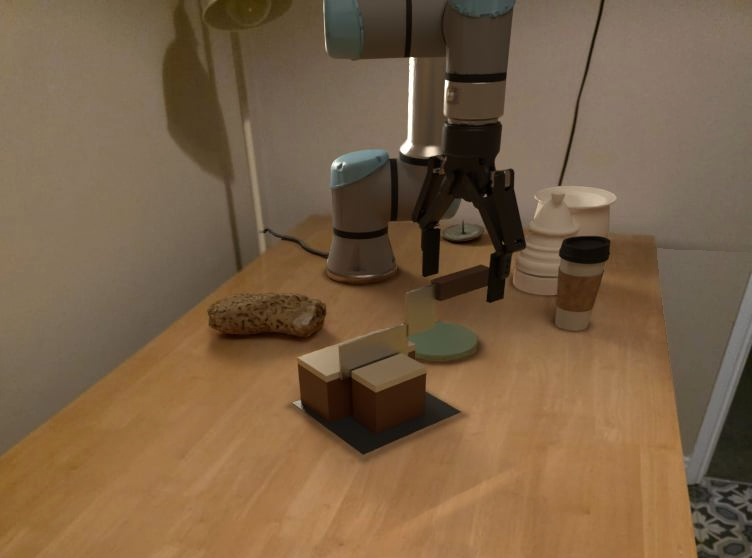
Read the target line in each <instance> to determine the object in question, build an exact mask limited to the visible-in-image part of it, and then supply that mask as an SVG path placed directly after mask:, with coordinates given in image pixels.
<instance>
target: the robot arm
mask: <svg viewBox="0 0 752 558" xmlns="http://www.w3.org/2000/svg"><path fill="white" fill-rule="evenodd" d="M516 1H517V0H323V1H322V2H323V3H322V4H323V26H324V27H323V28H324V43H325V44H324V45H325V52H326V54H327V56H329V57H330V58H331V59H334V60H350V61H352V62H355V61H360V60H383V59H384V60H385V59H406V58H407V59H409V61H408V100H407V138H406V139H405V140H404V142H403V143H402V144H401V145H400V146H399V151H398V157H394V158H393V157H392V158H391V157H390V155H389V152H388V151H387V150H386V149H382V148H379V149H378V148H377V149H376V148H375V149H374V148H371V149H370V148H369V149H363V150H357V151H352V152H349V153H345V154H343V155H340V156H339V157H337V158H336V159H334V161H333V162H332V163H331V166H330V183H329V189H330V190H331V215H332V216H331V217H332V239H331V244H330V247H329V252H326V251H321V250H317V249H314V248H313V247H310V246H308V245H306V244H305V242H304V241H303V240H302V239H300V238H298V237H295V236H292V235H285V234H280V233H277V232H275V231H274V230H273V229H272V228H270V227H265V228H264V229H263V230H262V234H266V233H267V232H269V234H271V236H273V237H276V238H279V239H283V240H289V241H294V242H297V243H299V244H300V246H301V247H302V248H303V249H305V250H307V251H309V252H311V253H313V254H316V255H319V256H323V257H327V260H326V263H325V266H326V267H325V269H326V275H327V276H328V277H329V278H330V279H332V280H334V281H336V282H339V283H344V284H352V285H367V284H375V283H380V282H384V281H387V280H390V279H391V278H393V277H394V276H395V275H396V273H397V259H396V257H395V253H394V251H393V247H392V243H391V241H390V240H391V239H390V237H389V223H391V222H412V223H417V224H418V227H419V229H420V230H421V231H420V232H421V234H420V249H421V252H422V260H421V262H422V263H421V277H422V278H427V277H428V278H429V277H431V276H435V275H439V270H440V252H441V251H440V250H441V233H442V232H441V231H442V230H441V228H440V227H439V226H441V224H440V223H439V222H440V221H441V220H442V221H443V220H445V221H446V220H450V219H452V218H454V217H455V216H456V214H457V213H458V211H459V208H460V205H461V202H462V200H463V201H465V202H467V203H472V206H473V207H474V208H475V209H477V210H478V213H479V215H480V218H481V220H482V222H483V225H484V227H485V229H486V232H487V234H488V237H489V239H490V241H491V244H492V246H493V249H494V252H492V253H490V255H489V266H488V267H489V276H488V286H487V288H486V297H485V299H486V300H485V302H486V303H488V304H492V303H495V302H499V301H501V300H504V298H505V290H506V281H507V278H509V277H510V275H511V269H512V268H511V266H512V260H513V259H512V257H513V254H514V253H518V252H519V251H521V250H524V249H525V248H526V242H525V237H526V236H525V233H524V229H523V223H522V219H521V213H520V210H519V205H518V200H517V196H516V191H515V170H514V169H513V168H512V167H510V168H507V169H497V168H496V158H497V157H498V155H499V153H500V151H501V143H502V134H503V133H502V132H503V124H502V122H501V121H500V120H499V119H500V118H502V117H503V116H504V113H505V103H506V90H507V89H506V88H507V76H508V66H509V58H510V57H509V56H510V46H511V35H512V27H513V16H514V8H515V5H516Z"/></svg>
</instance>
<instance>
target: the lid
mask: <svg viewBox="0 0 752 558" xmlns="http://www.w3.org/2000/svg"><path fill="white" fill-rule="evenodd" d="M461 221H462V222H461V223H460V224H452V225H449V226H447V227H446V228H444V229H443V230H441V231H442V232H440V238H442V239H444V240H447V241H451V242H467V241H470V240H474V239H476V238H479V237H481V236H482V235H483V234H484V233H485V228H484V227H483V226H481V225H479V224H475V223H465V219H464V218H462V220H461Z"/></svg>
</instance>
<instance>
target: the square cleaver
mask: <svg viewBox="0 0 752 558" xmlns="http://www.w3.org/2000/svg"><path fill="white" fill-rule="evenodd" d="M488 276H489V266H486V265H484V264H477V265H475V266H472V267H468V268H465V269H462V270H458V271H455V272H451V273H448V274H445V275H442V276H439V277H435V278H432V279H430V284H429V285H426V286H422V287H419V288H416V289H412V290H409V291H406V292H404V323H401V324H399V325H395V326H393V327H389V328H385V329H386V330H383V331H380V332H377V333H374V334H371V335H368V336H365V337H362V338H359V339H356V340H353V341H350V342H347V343H344V344H341V345H339V346H338V349H339V369H340V379H341V380H343V379H346V378H348V377H351V376H352V372H351V371H354V370H357V369H359V368H362V367H365V366H368V365H370V364H373V363H376V362H379V361H381V360H384V359H387V358H390V357H392V356H395V355H398V354H401V353H402V354H404V355H406V356H408V336H411V335H414V334H417V333H419V332H422V331H425V330H428V329H431V328H434V327H435V321H436V308H437V307H436V306H437V305H436V304H437V301H438V302H444V301H447V300H449V299H450V300H451V299H453V298H456V297H459V296H462V295H465V294H469V293H471V292H474V291H477V290H480V289H484V288H486V287H488Z"/></svg>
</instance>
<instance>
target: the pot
mask: <svg viewBox="0 0 752 558" xmlns="http://www.w3.org/2000/svg"><path fill="white" fill-rule="evenodd" d="M553 191H562V192H565V197H564V199H563V201H564V202H565V203H566V205H567V207H568V209H569V211H570V214H571V217H572V220H573V221H575V222H577V223H578V224H579V226H580V229H579V231H578V232H577V233H575V235H576V236H602V237H605V238H607V239H608V235H609V230H610V220H611V219H610V218H611V216H610V215H611V213H610V212H611V211H610V210H611V205H614V204H615V203H616V202H617V199H618V198H617V196H616V194H615V193H613V192H611V191H609V190H606V189H602V188H600V187H599V188H598V187H593V186H582V185H558V186H550V187H545V188H542V189H539V190H537V191H536V192H535V193H534V199H535V200H536V201H538V203H537V206H536V209H535V212H534V217H533V220H534V219H535V217H536V216H537V214H538V213H539V211H540V210H541V208H542V207H543V206H544V205H545V203H546V202H548V201H549V200H550V199H552V198H551V192H553Z"/></svg>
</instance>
